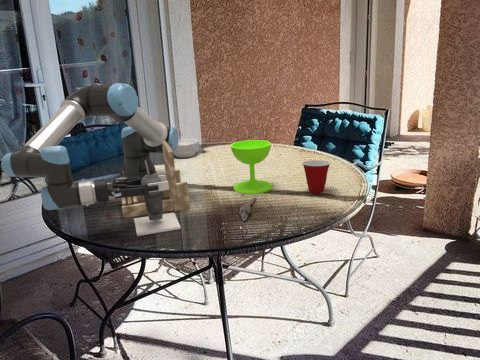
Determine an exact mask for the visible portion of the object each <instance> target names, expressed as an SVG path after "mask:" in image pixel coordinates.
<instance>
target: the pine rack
mask: <svg viewBox="0 0 480 360" xmlns="http://www.w3.org/2000/svg"><path fill="white" fill-rule="evenodd" d="M162 148H163V153H162V155H163V165H164V172H165V173H164V175H165V179H166V181H168V184H169V190H163V191H162V206H163V213H166V212H167V213H168V212H172V211H174V212H181V211H187V210H190V209H191V206H190V205H191V204H190V194H189V186H188V185H189V183H188V181H182V179H181V171H180V169H176V166H175V157H174V155H175V154H174V153H173V151H172V149H171V148H170V146H169V145H168V144H167V142H166V141H162ZM136 198H137V203H138V202H139V203H138V204H133V197H131V202H132V205H128V200H127V197H125V201H126V206H123V204H122V198H120V203H121V211H122V217H123V218H122V219H127V218H133V217H134V218H135V217H139V216H148V213H147V208H146V204H145V199H144V196H136ZM165 198H166V199H165ZM167 198H169V199H167ZM140 202H141V203H140ZM142 202H143V203H142Z"/></svg>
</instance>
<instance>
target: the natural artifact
mask: <svg viewBox="0 0 480 360" xmlns="http://www.w3.org/2000/svg"><path fill="white" fill-rule="evenodd" d="M256 200H257V197H255V196H254V197H252V199H251V200H250V201H248V202H246V203H244V204H242V205H241V206H240V207H239V215H240V217H241V220H242V222H246V221H247V219H248V218H249V217H250V214H251V212H252V206H253V204H254V203H255V201H256Z"/></svg>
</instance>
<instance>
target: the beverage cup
mask: <svg viewBox="0 0 480 360" xmlns="http://www.w3.org/2000/svg"><path fill="white" fill-rule="evenodd" d="M145 164H146V169H147V173H148V174H146V175H145V176H144V177H143V178H142V180H141V185H148V184H150V183H157V182H162V180H161V178H160V177H159V176H160V175H158V174H157V173H155V174H154V173H149V171H148V166H147V162H146V160H145ZM144 199H145V201H144V203H145V204H146V208H147V213H148V215H147V217H149V220H151V221H157V220H160V219H162V218H163V217H162V216H163V214H164V212H163V206H162V200H163V198H162V191H156V192H149V195H148V196H147V195H144Z"/></svg>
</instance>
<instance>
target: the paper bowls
mask: <svg viewBox="0 0 480 360" xmlns="http://www.w3.org/2000/svg"><path fill="white" fill-rule="evenodd" d="M199 150H200V145H199V140H198V139H195V138H180V139H179V138H178V146H177V149H176V151H175V152H173V155H175V157H176V158H180V159H181V158H182V159H184V158H186V159H187V158H191V157H194V156H195V155H196V153H197V152H198V151H199Z"/></svg>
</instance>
